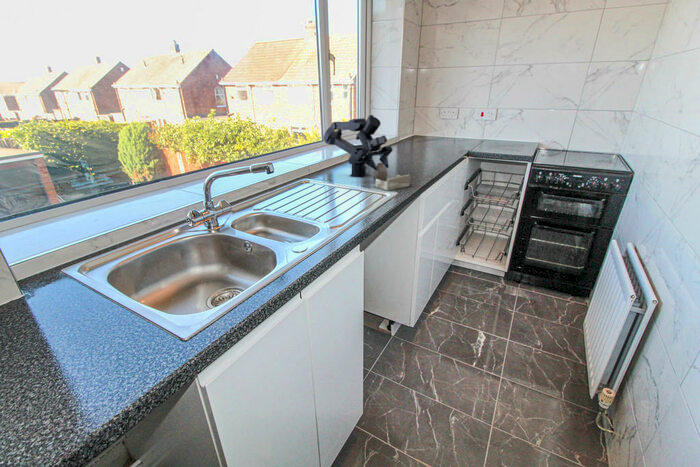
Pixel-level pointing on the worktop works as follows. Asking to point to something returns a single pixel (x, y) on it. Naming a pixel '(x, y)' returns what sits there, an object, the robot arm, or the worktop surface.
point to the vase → (380, 172)
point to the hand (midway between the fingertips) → (382, 168)
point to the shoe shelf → (393, 182)
